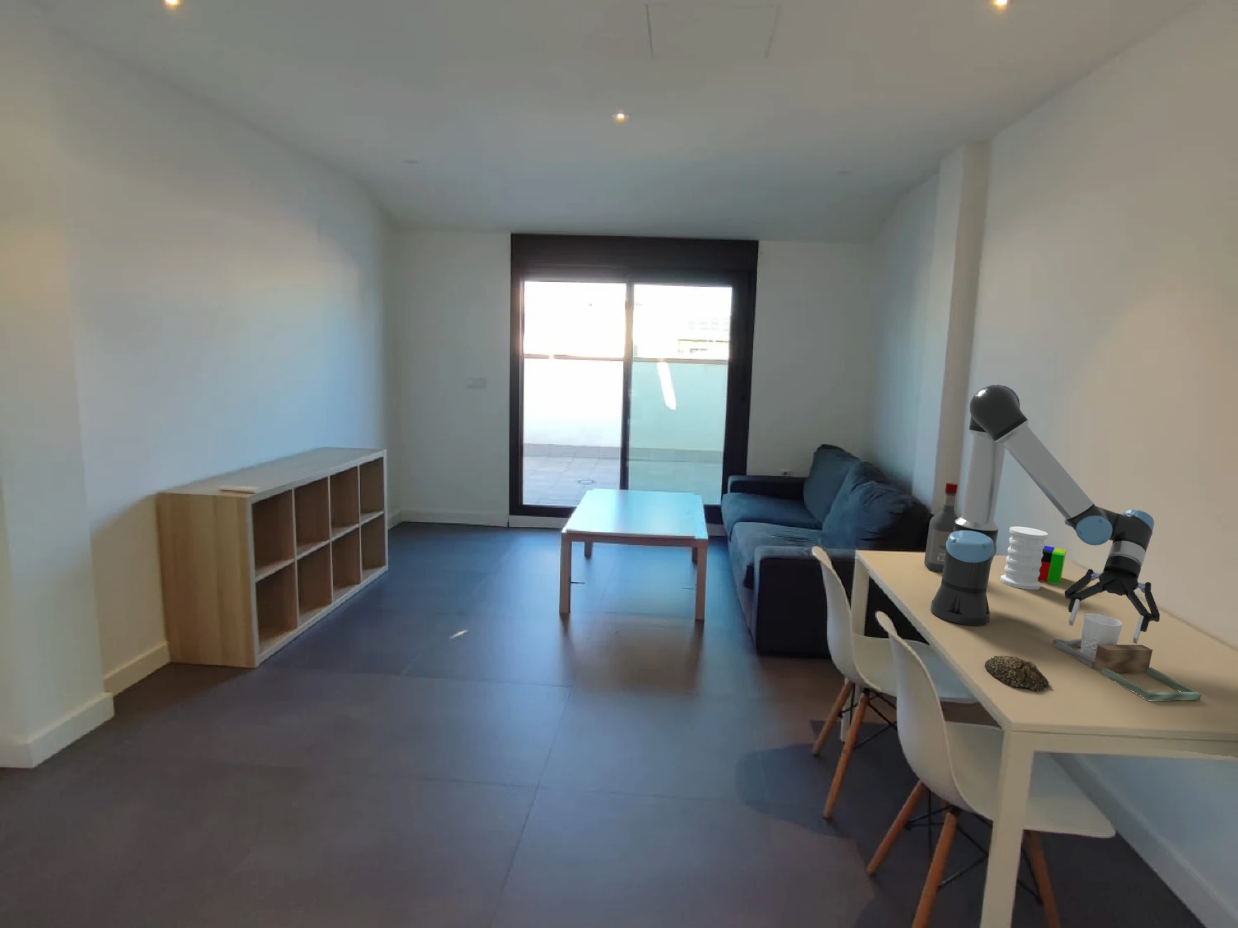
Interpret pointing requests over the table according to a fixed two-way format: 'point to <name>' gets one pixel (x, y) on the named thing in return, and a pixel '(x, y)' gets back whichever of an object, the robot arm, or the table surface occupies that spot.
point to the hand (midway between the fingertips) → (1102, 631)
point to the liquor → (941, 531)
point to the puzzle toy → (1052, 564)
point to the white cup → (1098, 633)
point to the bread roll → (1016, 672)
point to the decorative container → (1024, 558)
